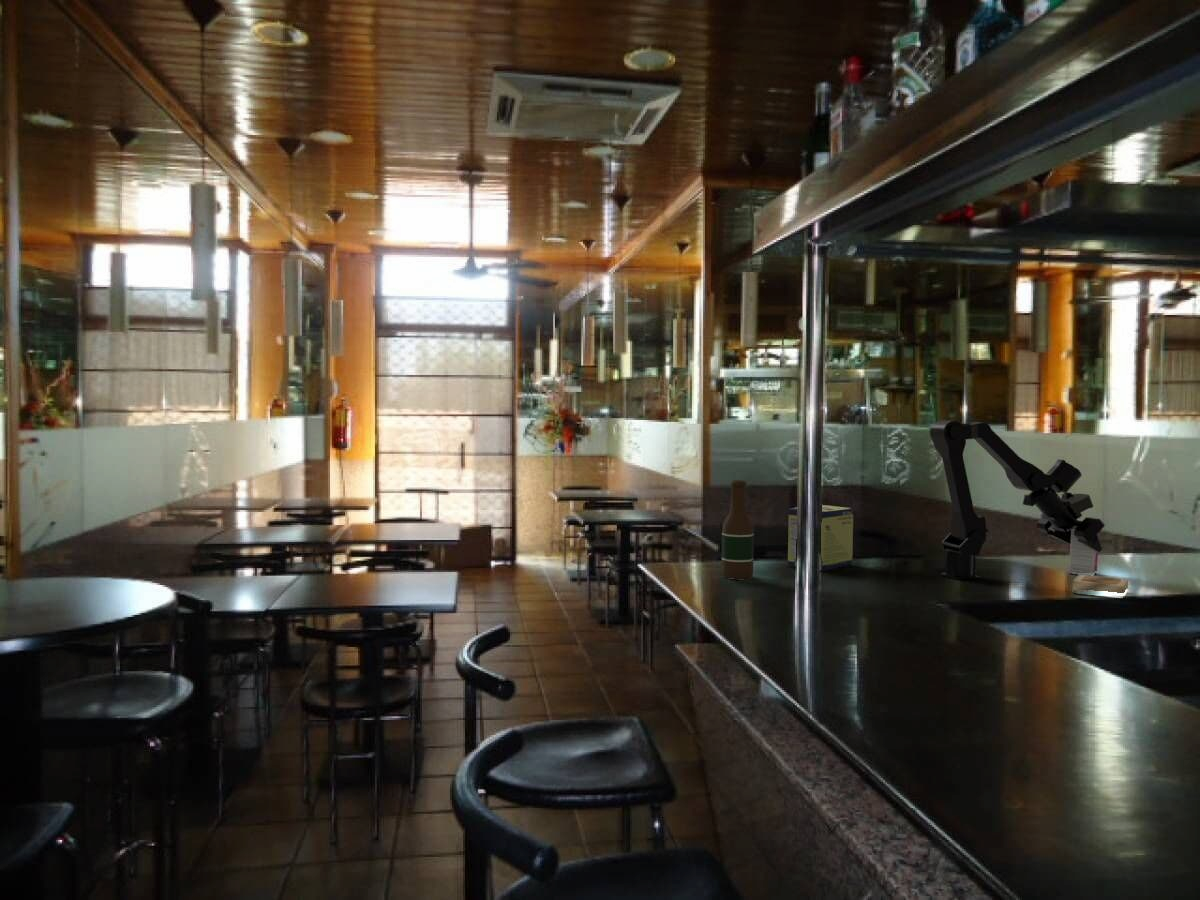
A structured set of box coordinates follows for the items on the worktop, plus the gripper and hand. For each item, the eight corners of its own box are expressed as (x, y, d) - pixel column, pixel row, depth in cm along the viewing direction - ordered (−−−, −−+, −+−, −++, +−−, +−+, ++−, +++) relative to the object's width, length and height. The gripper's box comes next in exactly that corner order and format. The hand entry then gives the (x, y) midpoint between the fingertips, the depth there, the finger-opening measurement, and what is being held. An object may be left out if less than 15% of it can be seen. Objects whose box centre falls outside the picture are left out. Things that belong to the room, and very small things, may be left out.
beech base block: (1072, 593, 205) (1072, 580, 205) (1079, 586, 213) (1079, 573, 213) (1122, 599, 199) (1123, 585, 199) (1127, 592, 207) (1128, 578, 207)
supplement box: (1094, 577, 226) (1095, 531, 226) (1068, 574, 230) (1069, 529, 229) (1098, 573, 231) (1099, 529, 230) (1072, 571, 234) (1073, 527, 234)
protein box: (853, 565, 241) (854, 507, 240) (820, 572, 230) (821, 511, 229) (819, 560, 248) (820, 504, 248) (786, 566, 238) (787, 508, 237)
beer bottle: (755, 580, 218) (757, 481, 217) (723, 580, 218) (724, 481, 217) (750, 574, 226) (752, 479, 224) (719, 574, 226) (721, 478, 225)
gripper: (1099, 486, 219) (1137, 530, 222) (1048, 480, 238) (1083, 521, 240) (1069, 519, 218) (1107, 563, 221) (1020, 510, 237) (1056, 551, 239)
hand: (1088, 548), depth 230 cm, fingers closed on supplement box, 8 cm apart
